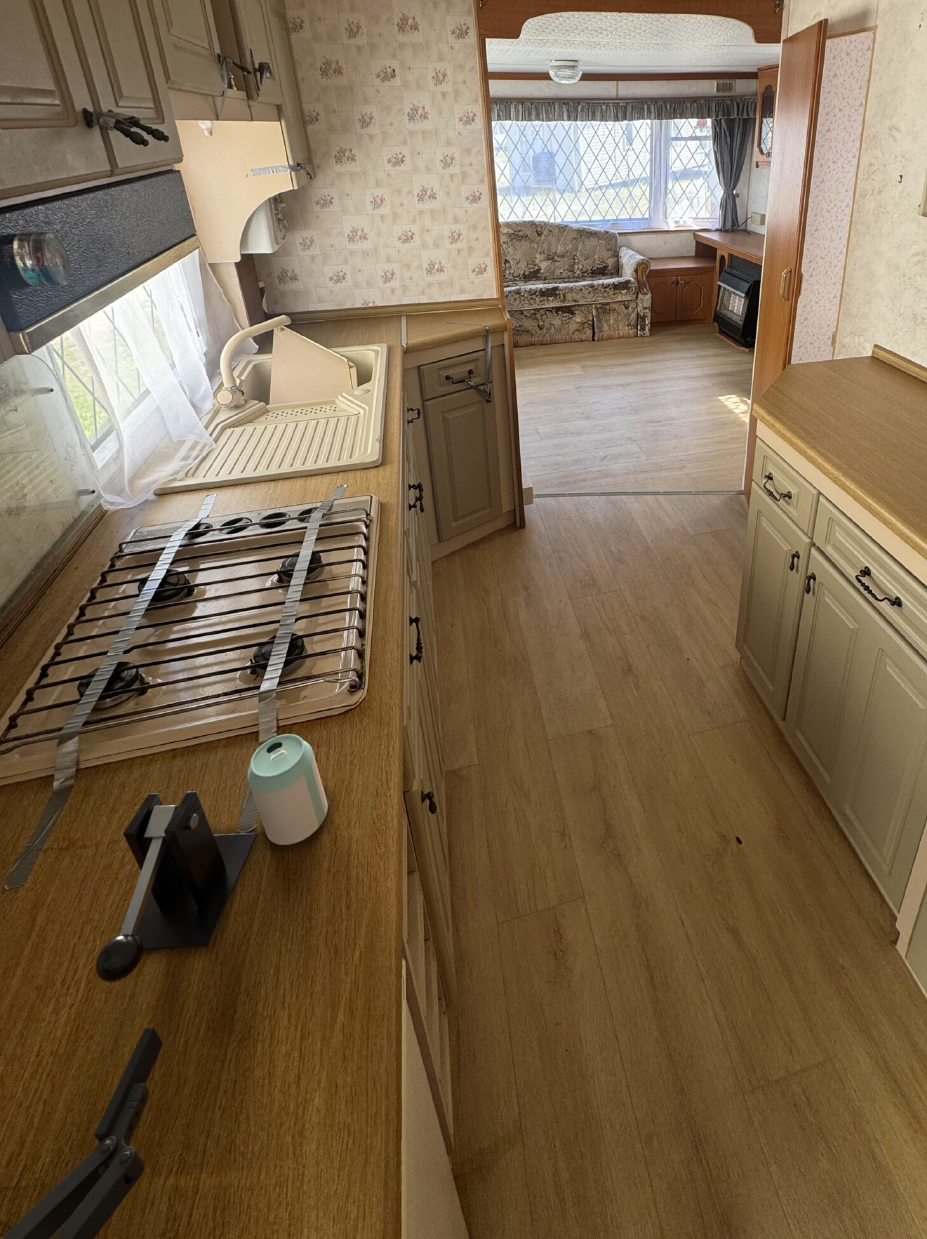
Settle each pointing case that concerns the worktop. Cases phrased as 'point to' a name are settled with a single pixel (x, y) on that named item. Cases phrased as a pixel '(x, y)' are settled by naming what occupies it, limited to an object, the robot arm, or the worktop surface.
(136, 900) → the tap lever
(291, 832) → the can
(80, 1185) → the robot arm
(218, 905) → the lever stand
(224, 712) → the worktop surface
